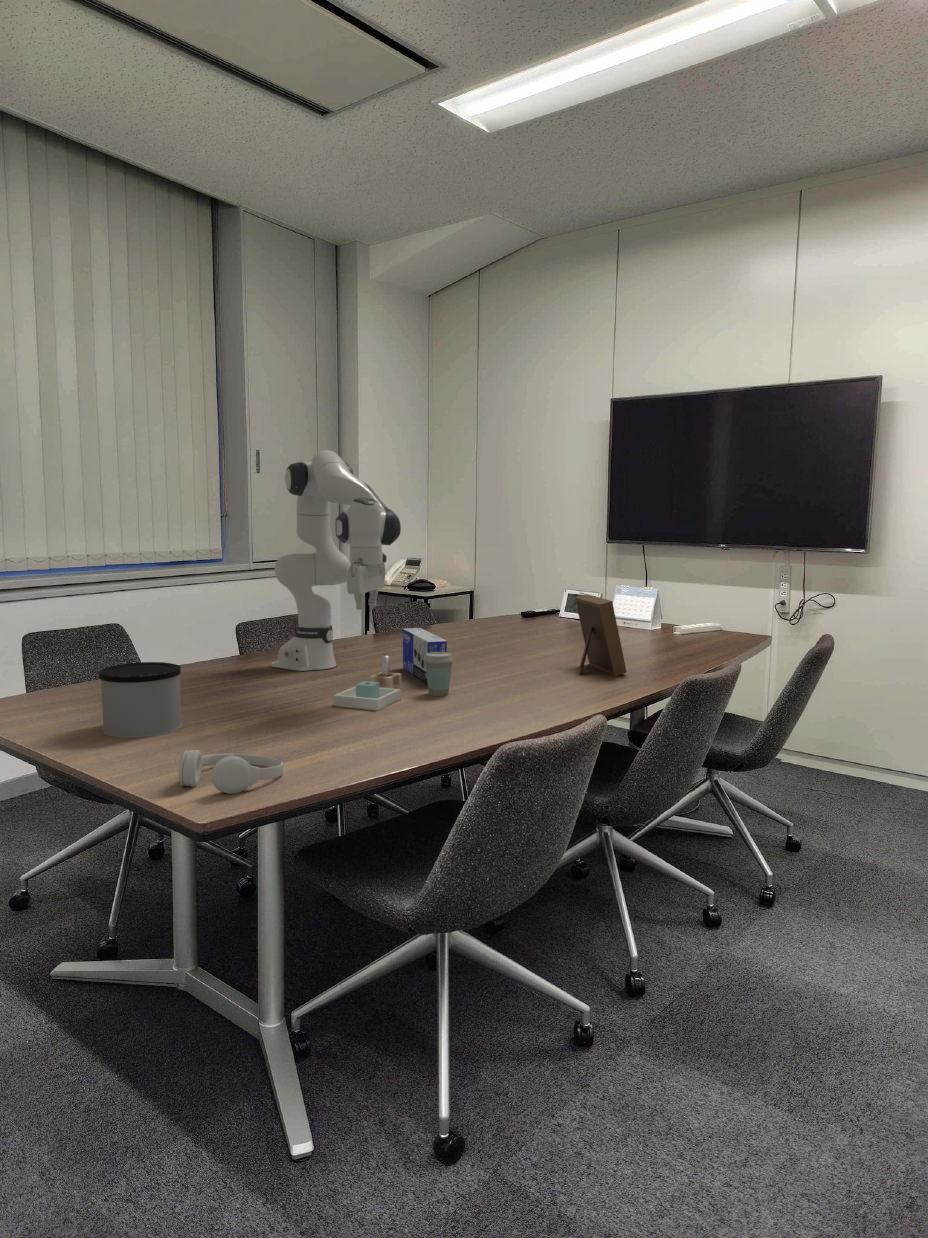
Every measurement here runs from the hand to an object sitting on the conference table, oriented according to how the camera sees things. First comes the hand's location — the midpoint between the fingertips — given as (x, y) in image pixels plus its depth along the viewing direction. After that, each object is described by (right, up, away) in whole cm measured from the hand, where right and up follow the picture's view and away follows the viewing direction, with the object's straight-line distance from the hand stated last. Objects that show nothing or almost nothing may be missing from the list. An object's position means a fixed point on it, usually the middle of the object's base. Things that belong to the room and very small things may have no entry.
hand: (366, 607), depth 231 cm
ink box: (+14, -22, +40) cm, 48 cm away
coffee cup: (+20, -26, +15) cm, 36 cm away
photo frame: (+71, -21, +51) cm, 90 cm away
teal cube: (0, -26, +4) cm, 27 cm away
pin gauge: (+4, -24, +18) cm, 30 cm away
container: (-53, -31, -23) cm, 66 cm away
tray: (0, -27, +4) cm, 27 cm away
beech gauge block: (+4, -25, +18) cm, 31 cm away
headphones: (-20, -36, -62) cm, 74 cm away
